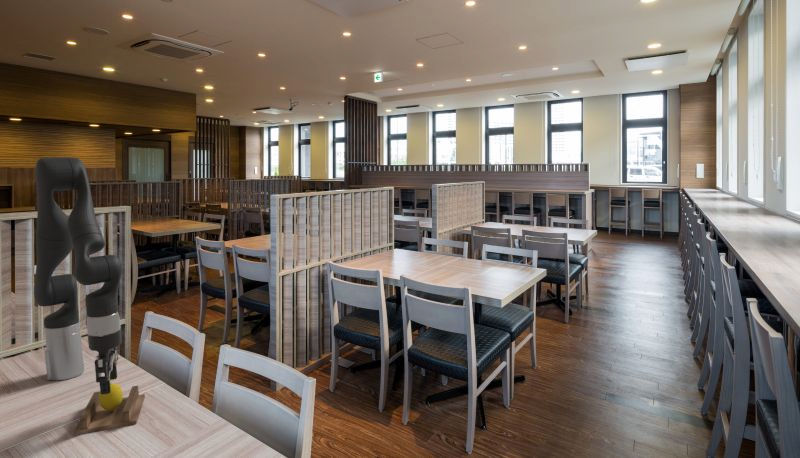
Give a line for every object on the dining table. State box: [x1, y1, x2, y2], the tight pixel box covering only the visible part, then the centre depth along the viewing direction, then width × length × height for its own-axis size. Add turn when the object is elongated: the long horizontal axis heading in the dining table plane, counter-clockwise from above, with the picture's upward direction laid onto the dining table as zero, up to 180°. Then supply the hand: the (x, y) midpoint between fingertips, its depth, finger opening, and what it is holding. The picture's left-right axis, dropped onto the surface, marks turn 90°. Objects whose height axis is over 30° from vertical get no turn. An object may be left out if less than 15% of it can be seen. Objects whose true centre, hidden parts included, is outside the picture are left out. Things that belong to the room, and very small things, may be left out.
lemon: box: [99, 382, 124, 411], centre depth 126 cm, size 6×6×8 cm
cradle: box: [73, 385, 146, 436], centre depth 126 cm, size 14×15×4 cm
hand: (109, 386), depth 125 cm, fingers open, 8 cm apart
